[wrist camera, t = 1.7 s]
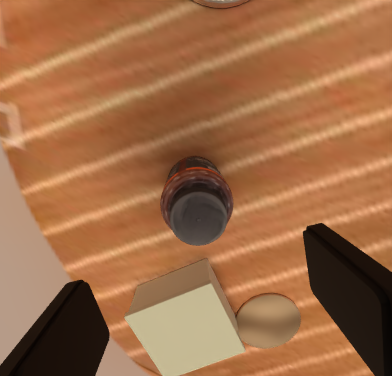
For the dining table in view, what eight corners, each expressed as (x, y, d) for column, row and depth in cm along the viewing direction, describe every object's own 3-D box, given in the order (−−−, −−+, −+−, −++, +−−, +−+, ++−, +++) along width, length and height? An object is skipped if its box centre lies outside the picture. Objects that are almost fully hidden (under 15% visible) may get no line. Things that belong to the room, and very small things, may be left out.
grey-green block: (135, 285, 30) (124, 317, 25) (207, 256, 29) (211, 283, 24) (169, 341, 32) (165, 380, 27) (237, 316, 31) (245, 351, 26)
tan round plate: (229, 301, 30) (230, 304, 30) (294, 286, 30) (296, 289, 30) (241, 350, 33) (242, 354, 32) (302, 337, 32) (304, 341, 32)
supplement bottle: (169, 205, 27) (153, 258, 16) (168, 154, 25) (151, 176, 14) (219, 205, 27) (238, 259, 16) (221, 155, 25) (245, 177, 14)
